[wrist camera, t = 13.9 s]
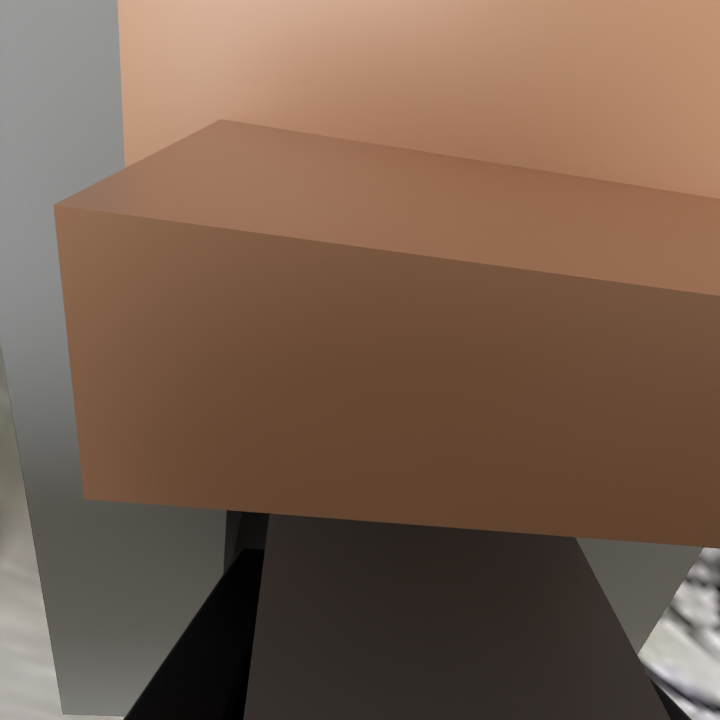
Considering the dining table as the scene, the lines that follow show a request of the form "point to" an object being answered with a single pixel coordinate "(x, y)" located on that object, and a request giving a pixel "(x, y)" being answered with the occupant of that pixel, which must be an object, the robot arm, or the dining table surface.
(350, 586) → the grey rectangular block
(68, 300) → the shutter
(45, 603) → the socket
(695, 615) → the dining table surface
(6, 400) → the dining table surface
